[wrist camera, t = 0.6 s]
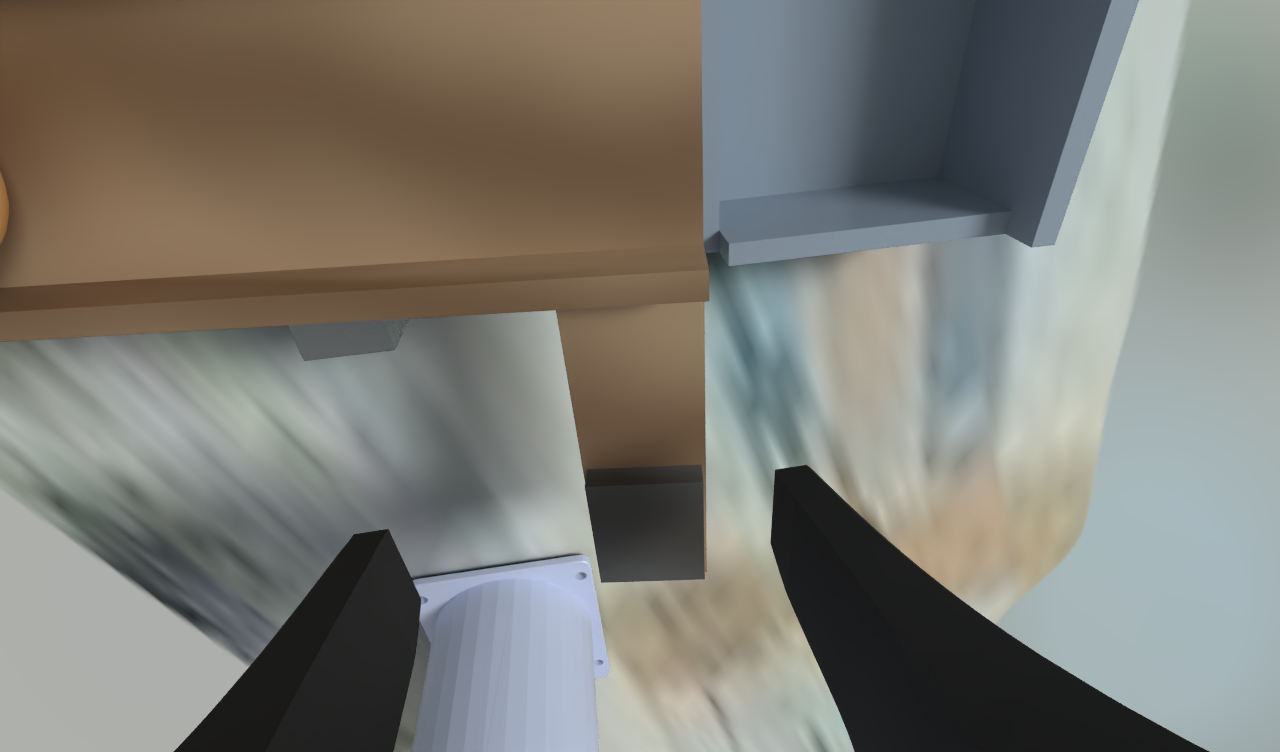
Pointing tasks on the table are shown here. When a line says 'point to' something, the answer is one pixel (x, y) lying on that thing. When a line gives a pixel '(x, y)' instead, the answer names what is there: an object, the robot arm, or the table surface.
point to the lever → (384, 197)
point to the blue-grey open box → (897, 120)
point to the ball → (3, 209)
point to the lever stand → (347, 338)
